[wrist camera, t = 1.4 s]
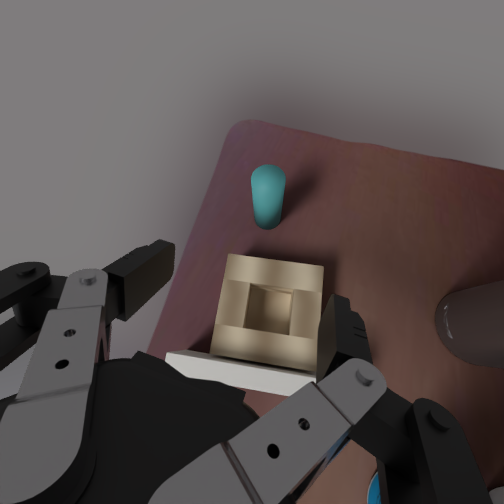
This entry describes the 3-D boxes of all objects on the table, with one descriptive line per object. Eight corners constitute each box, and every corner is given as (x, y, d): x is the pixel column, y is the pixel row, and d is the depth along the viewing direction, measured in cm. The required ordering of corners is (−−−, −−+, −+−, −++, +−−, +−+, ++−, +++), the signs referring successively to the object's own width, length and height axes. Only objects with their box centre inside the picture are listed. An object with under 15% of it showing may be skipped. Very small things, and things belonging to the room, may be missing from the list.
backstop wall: (341, 376, 32) (362, 386, 25) (341, 394, 31) (362, 409, 24) (186, 349, 33) (166, 352, 27) (182, 366, 33) (162, 373, 26)
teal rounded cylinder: (282, 207, 40) (287, 166, 30) (279, 231, 38) (283, 195, 29) (256, 204, 40) (253, 162, 30) (252, 227, 39) (248, 192, 29)
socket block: (316, 275, 36) (323, 266, 31) (309, 367, 32) (316, 371, 28) (233, 264, 37) (228, 253, 33) (217, 351, 34) (209, 353, 29)
